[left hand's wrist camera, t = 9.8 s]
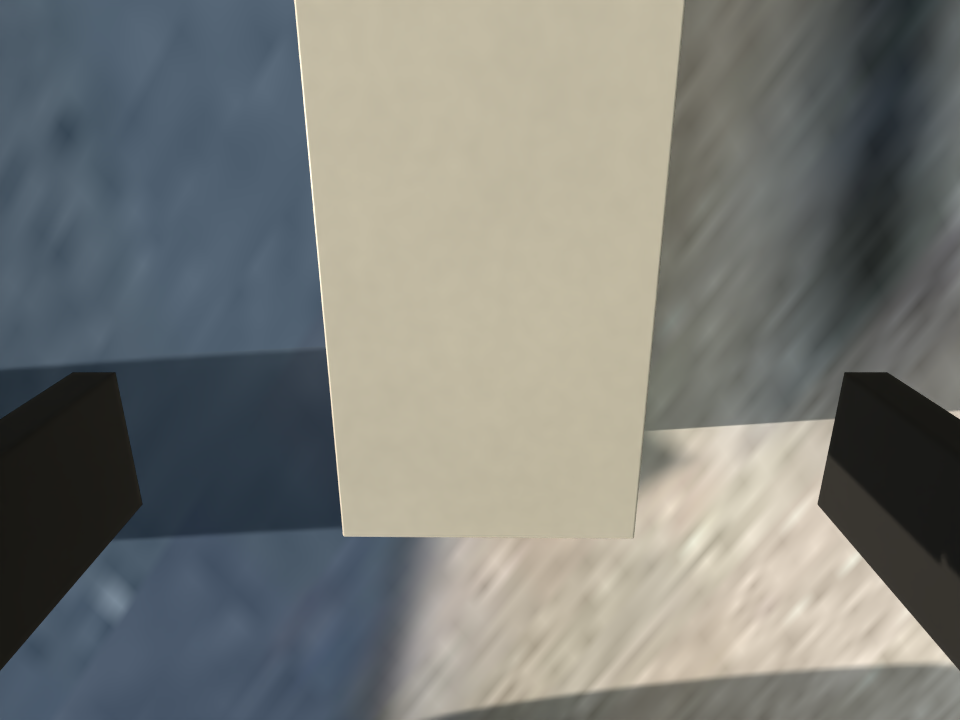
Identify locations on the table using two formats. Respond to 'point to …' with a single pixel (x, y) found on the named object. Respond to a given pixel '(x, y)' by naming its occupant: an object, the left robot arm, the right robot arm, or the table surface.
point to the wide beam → (489, 255)
